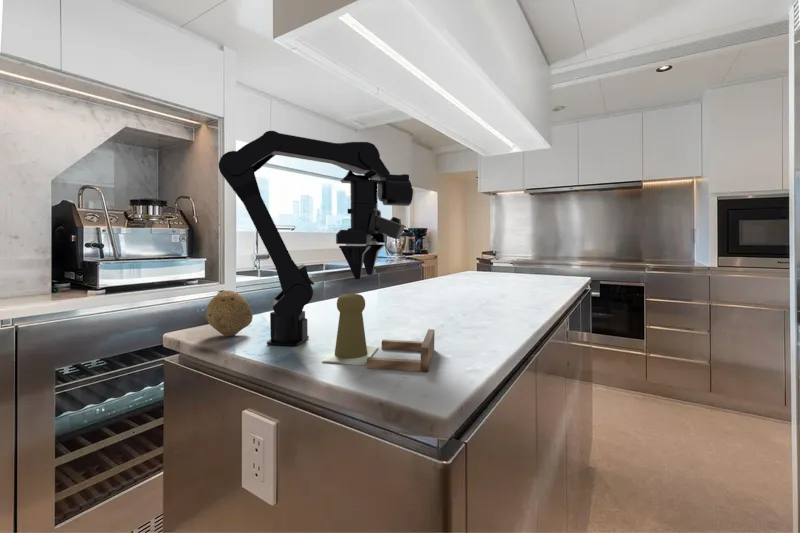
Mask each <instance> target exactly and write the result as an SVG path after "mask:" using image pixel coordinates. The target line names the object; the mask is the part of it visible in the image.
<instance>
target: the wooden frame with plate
mask: <svg viewBox="0 0 800 533" xmlns="http://www.w3.org/2000/svg"><path fill="white" fill-rule="evenodd" d="M435 332H436V330H435V329H433V328H432V329H431V328H429V329H427V332H426V334H425V336H424V339H423V341H416V340H398V339H381V350H382V349H383V350H384V349H385V350H386V349H387V350H398V351H399V350H401V351H418V352H420V359H405V358H391V357H373V355H374V354H376V352H377V351H378V349H379V347H378V346H368V345H366V346H367V355H365V356H363V357H359V358H340V357H337V356H336V355H335V349H334V350H333V351H332V352H330V354H328V355H327V356H326V357H324V359H322V361H321V363H322V364H337V365H338V364H340V365H354V366H355V365H356V366H365V365H366V369H375V370H376V369H377V370H390V371H392V370H393V371H402V372H417V373H418V372H421V373H429V370H430V367H431V366H430V365H431V363H432V359H433V356H434V354H435V353H434V352H435Z"/></svg>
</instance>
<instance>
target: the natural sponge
mask: <svg viewBox="0 0 800 533" xmlns="http://www.w3.org/2000/svg"><path fill="white" fill-rule="evenodd" d="M205 311H206V312H205V319H206V321H207V322H208V324H209V325H210V326H211V327H212V328H213V329H215V330H216V331H217V332H218V333H219V334H221V335H222V336H225V337H234V336H236V335H238V333H239V332H240V331H242V330H243V329H245V328H246V327H249V326H250V325H251V323H252V321H253V316H254V315H253V312H252V309H251V307H250V305H249V303H248V302H247V300H246V299H245V297H244V296H242V295H241V294H239V293H238V292H236V291H234V290H223V291H221V292H219V293H217V294H216V295H214V296H213V298H211V299H210V301H209V302H208V304H207V306H206V310H205Z"/></svg>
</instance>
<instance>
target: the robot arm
mask: <svg viewBox="0 0 800 533" xmlns="http://www.w3.org/2000/svg"><path fill="white" fill-rule="evenodd" d="M380 154H381V153H380V151H379V149H378V148H377V146H376V145H375V144H373V142H370V141H350V142H349V141H347V142H337V143H336V142H332V141H326V140H325V141H324V140H320V139H314V138H310V137H309V138H308V137H304V136H297V135H291V134H288V133H287V134H286V133H281V132H280V133H279V132H277V131H275V130H267V131H265V132H264V133H263V134H262V135H261V136H259V137H258V138H256V139H254V140H252V141H250V142H248V143H247V144H244V145H243V146H242V147H241V148H239V149H238V150H230V151H227V152H225V153H224V154H222V156H221V157H220V159H219V162H218V169H219V173H220V174H221V176H222V177H223V178H224V180H226V182H227V183H228V184H229V186H230V187H231V189H232V191H234V193H235V195H236V196H237V197H238V198H239V199H240V201H241V203H242V204H243V206H244V207H245V209H246V211H247V213H248V215H249V218H250V219H251V221H252V223H253V225H254V228H255V229H256V231H257V233H258V235H259V237H260V239H261V241H262V243H263V245H264V248H265V249H266V252H267V253H268V255H269V257H270V260H271V261H272V263H273V265H274V268H275V270H276V274H277V278H278V280H279V284H280V285H279V286H280V288H281V291H280V292H279V293H278V294H277V295H276V296H275V297H274V298H273V299H272V310H273V311H271V312H270V314H269V322H270V323H269V325H270V339H269V340H267V341H266V345H272V346H273V345H274V346H286V347H287V346H288V347H291V346H292V347H296V346H299V345H300V344H302V343H304V342H305V341H306V340H308V339H309V338H310V337H309V335H308V334H309V332H308V318H306V311H305V310H304V308H305V306H306V305H307V304H309V303H310V302H311V301H312V298H313V295H314V290H313V286H314V285H315V282H314V281H313V280H312V279H311V278H310V276H309V272H308V269H307V267H306V265H305V264H303V263H302V264H300V265H299V266H298V265H297V264H296V263H295V261H294V260H293V258H292V257H291V254H290V253H289V250H288V248H287V246H286V244H285V242H284V241H283V239H282V237H281V234H280V231H279V229H278V228H277V225H276V224H275V222H274V220H273V218H272V216H271V213H270V212H269V209H268V208H267V205H266V204H265V201H264V199H263V198H262V195H261V191H260V188H259V185H258V181H257V177H256V172H257V171H259V170H260V169H261V168H262V167H263V166H264V165H266V164H267V163H268V162H269V161H271V159H272V158H274V157H276V156H280V157H281V156H282V157H289V158H295V159H298V160H299V159H301V160H306V161H313V162H318V163H319V162H320V163H326V164H331V165H334V166H337V167H339V168H341V169H343V170H345V171H347V173H346V175H345V176H344V177H343V178H341V179H340V182H341V184H350V192H349V193H350V208H347V214H349V215H350V228H347V229H339V231H338V232H337V233H336V235H335V243H336V245H338V248H339V249H340V250H341V252H342V254H343V256H344V258H345V260H346V262H347V264H348V266H349V268H350V270H351V273H352V275H353V278H354V279H355V280H361V279H362V273H363V267H364V269H365V272H366V275H367V276H372V275H373V273H374V270H375V267H376V266H375V265H376V261H377V258H378V253H379V252H380V251H381V250H382V249H383V248H384V247H385V246H386V244H387V243H388V237H389V238H392V239H394V240H397V239H398V240H399V239H401V236H402V233H403V232H404V227H405V225H404V224H402V220H401V218H398V217H396V216H393V217H391V219H388V218H386V217H382V212H381V210H380V209H378V200H379V202H381V203H382V205H383V206H394V207H395V206H399V207H400V206H401V207H409V206H410V205H411V204H412V200H413V195H414V188H413V186H412V185H413V184H412V182H411V180H410V175H409V174H406V173H405V174H404V173H403V174H391V172H390V171H389V170H388V168H387V167H386V165H385V163H384V162H383V161H382V160H381V156H380ZM312 285H313V286H312Z"/></svg>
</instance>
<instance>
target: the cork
mask: <svg viewBox="0 0 800 533" xmlns="http://www.w3.org/2000/svg"><path fill="white" fill-rule="evenodd" d="M336 308H337V310H338V312H339V316H338V324H337V325H338V326H337V333H336V342H335V349H334V350H335V355H336V356H337V357H340V358H359V357H363V356H365V355H367V346H368V345H367V338H366V333H365V325H364V324H365V323H364V317H363V311H364V310H365V308H366V300H365V297H364V296H363V295H362V294H358V293H344V294H341V295H340V296H338V298H337V300H336Z"/></svg>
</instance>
